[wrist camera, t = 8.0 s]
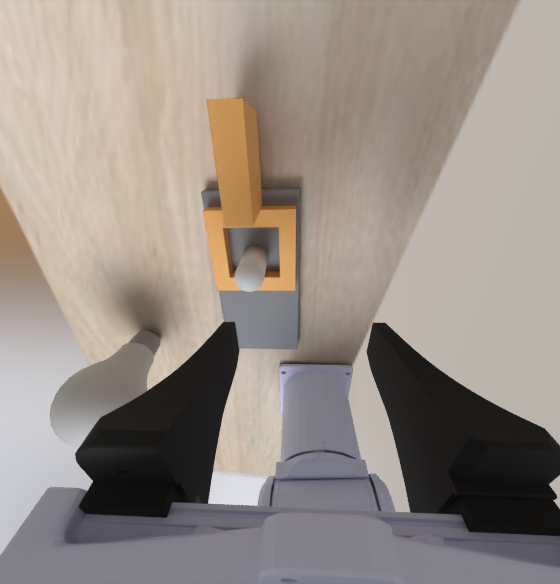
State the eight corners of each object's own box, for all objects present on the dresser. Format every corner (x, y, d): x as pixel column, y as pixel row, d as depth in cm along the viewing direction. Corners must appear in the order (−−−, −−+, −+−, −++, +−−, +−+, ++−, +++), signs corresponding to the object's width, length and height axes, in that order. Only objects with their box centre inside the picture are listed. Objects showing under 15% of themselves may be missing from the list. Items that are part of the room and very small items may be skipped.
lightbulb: (112, 312, 25) (3, 416, 16) (171, 310, 24) (96, 416, 15) (134, 356, 28) (55, 464, 19) (187, 355, 28) (133, 466, 18)
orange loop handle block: (295, 283, 21) (295, 319, 17) (220, 283, 21) (203, 318, 17) (296, 108, 15) (298, 96, 11) (191, 112, 15) (152, 101, 11)
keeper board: (297, 342, 26) (298, 386, 21) (231, 341, 26) (217, 385, 22) (299, 187, 18) (302, 203, 13) (205, 189, 18) (175, 206, 14)
